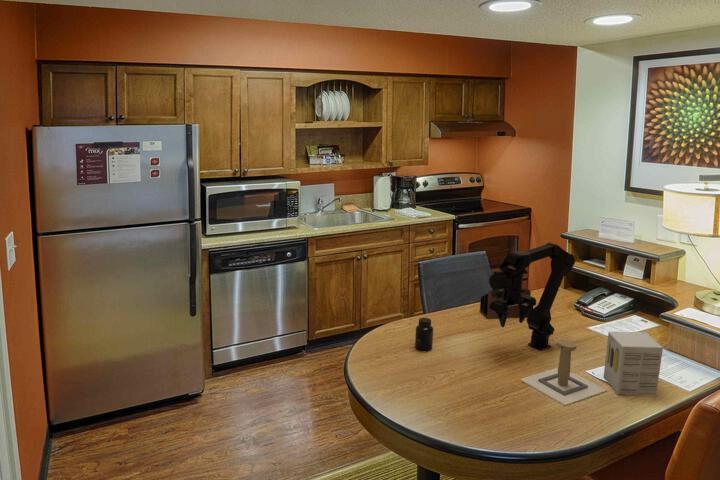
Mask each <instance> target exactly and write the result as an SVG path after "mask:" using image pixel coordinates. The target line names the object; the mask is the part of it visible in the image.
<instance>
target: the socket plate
mask: <svg viewBox="0 0 720 480" xmlns="http://www.w3.org/2000/svg"><path fill="white" fill-rule="evenodd" d="M519 381H520V382H522V383H524V384H526V385H527V386H529V387H531V388H532V389H534V390H536V391H538V392H539V393H541V394H543V395H545V396H547V397H548V398H550V399H552V400H554V402H557V403H558V404H560V403H561V404H560V405H562V404H563V405H562V406H564V405H565V406H564V407H566V405H567V406H569V405H568V404H570V405H572V404H571V403H573V404H575V403H574V402H576V403H578V402H577V401H579V402H581V401H584V400H586V398H587V399H589V398H588V397H590V398H592V397H591V396H593V397H595V396H594V395H596V396H598V395H597V394H599V393H602V394H604V393H603V392H605V391H607V392H608V390H607V389H606V388H604V387H601V386H600V385H598V384H595V383H593V382H591V381H590V380H587V379H586V378H583V377H582V376H579V375H577V374H575V373H574V372H571V371H570V376H569V380H568V385H566V386H562V385H559V383H558V367H555V368H552V369H549V370H546V371H543V372H539V373H535V374H532V375H529V376H526V377H522V378H520V379H519ZM605 393H606V392H605ZM599 395H600V394H599ZM583 399H584V400H583ZM580 400H581V401H580Z"/></svg>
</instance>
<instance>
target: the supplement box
mask: <svg viewBox="0 0 720 480" xmlns="http://www.w3.org/2000/svg"><path fill="white" fill-rule="evenodd" d="M663 351H664V347H663V346H662V345H661V344H659V342H657V341H656V340H655V339H654V338H653V337H652V336H650V335H649V333H647V332H646V331H642V332H641V331H608V335H607V344H606V352H605V353H606V354H605V359H604V360H605V361H604V370H603V378H604V377H605V378H606V380H607V381H608V382H609V383H608V382H607V381H606V380H605V381H606V382H607V383H608V385H609V384H610V385H611V386H612V387H611V386H610V387H611V389H612V390H613V389H614V390H615V391H616V392H615V391H614V390H613V391H614V392H615V394H616V395H617V394H628V395H627V396H644V395H656V396H657V391H658V385H659V377H660V370H661V364H662V356H663ZM605 378H604V379H605ZM630 394H631V395H630Z"/></svg>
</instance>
